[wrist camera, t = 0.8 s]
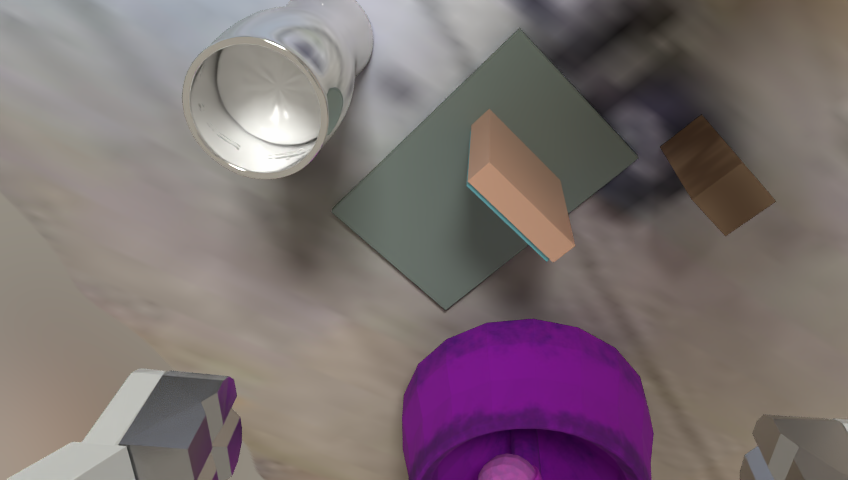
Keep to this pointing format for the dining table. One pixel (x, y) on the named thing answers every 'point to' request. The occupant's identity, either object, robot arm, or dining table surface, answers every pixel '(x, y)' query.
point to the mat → (448, 163)
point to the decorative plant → (526, 408)
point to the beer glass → (277, 85)
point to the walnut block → (715, 176)
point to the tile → (518, 187)
